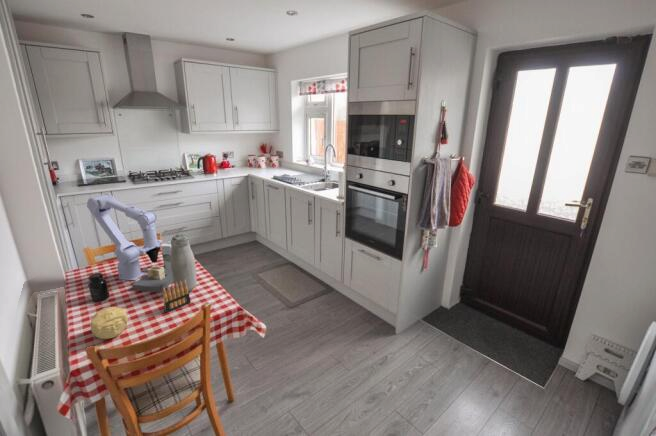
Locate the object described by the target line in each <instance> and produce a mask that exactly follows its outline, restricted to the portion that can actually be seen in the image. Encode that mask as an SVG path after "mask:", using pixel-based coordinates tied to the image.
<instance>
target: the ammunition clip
mask: <svg viewBox="0 0 656 436" xmlns="http://www.w3.org/2000/svg"><path fill="white" fill-rule="evenodd" d="M183 283H184V289H183V285H182V282H181V281H180V283H179V286H180V291H179V288H178V284H177V282H176V284H174V283H171V284H170V285H171V286H169V285H168V286H167V287H166V288H164V287H163V291H162V298H163V308H164V309H163V310H164V313H165V314H168V313H170V312H173V311H175V310H177V309H180V308H182V307H184V306H187V305H189V304H191V297H190V293H189V291H188V288H187V284H186V281H185V279H184V282H183Z"/></svg>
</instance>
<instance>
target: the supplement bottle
mask: <svg viewBox="0 0 656 436" xmlns="http://www.w3.org/2000/svg"><path fill="white" fill-rule="evenodd" d="M88 278H89V282H88V283H87V285H88V289H89V293H90V294H89V295H90V299H91V301H92V302H93V303H102V302H104V301H106V300H108V299H109V298H110V297H111V296H110V290H109V286H108V281H107V279H106V278H105V277H104V276H103V273H102V272H95V273H92V274H89V276H88Z"/></svg>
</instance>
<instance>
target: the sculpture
mask: <svg viewBox="0 0 656 436" xmlns="http://www.w3.org/2000/svg"><path fill="white" fill-rule="evenodd" d="M128 320H129V319H128V315H127V310H126V308H123V307H116V306H109V307H105V308H102V309H100V310H98V311H97V312H96V313H95V314H94V315H93V316H92V318H91V320H90V326H89V327H90V331H91V333H92V334H93V335H94V336H95V337H96V338H97V339H101V340H110V339H113V338H116V337H118V336H119V335H121V334H122V333H123V332H124V331H125V329H126V327H127V324H128V323H129V321H128Z"/></svg>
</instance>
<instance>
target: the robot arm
mask: <svg viewBox="0 0 656 436" xmlns="http://www.w3.org/2000/svg"><path fill="white" fill-rule="evenodd" d="M86 207H87V209H88V210H89V211H90V213H91V214H92V215H93V217H94V218H95V220H96V221H97V223H98V224H99V225H100V227H101V228H102V230H103V231H104V232H105V234H106V235H107V236H108V237H109V239H110V241H111V242H112V243H113V244H114V246H115V249H114V254H115V256H116V259H117V261H118V263H117V268H116V269H117V272H118V277H119V278H118V279H117V280H123V281H138V280H139V279H140V278H142V277H143V276H145V275H146V272H143V271H141V270H142V269H141V265H140V260H139V259H140V256H141V255H145V254H146V255H147V256H148V258H149V260H150V262H151V263H155V264H156V263H157V262H158V258H159V253H160V251H161V245H162V244H164V241H163V238H162V239H158V236H157V230H156V229H157V228H156V224H155V222H156V221H157V215H156V213H155V212H153V211H152V210H144V209H141V208H139V207H137V206H136V205H127V204H125V203H123V202H121V201H119V200H117V199H116V198H115V196H114V195H111V194H110V193H104V194H102V195H98V196H95V197H90V198H88V199H87V201H86ZM112 209H114V210H116V211H119V212H122V213H124V214H125V217H127V218H129V219H132V220H134V221H135V222H136V221H137V224H138V225H139V226H140V229H141V233H142V236H143V237H142V238H143V243H144V246H142V248H140V247H139V246H137V245H136V244H135V242H133V241H128V240H127V239H126V237H125V236H124V235H123V233H122V231H121V230H120V229H119V227H118V226H117V225H116V223H115V222H114V220H113V219H112V218H111V216H110V215H109V213H110V212H111V210H112Z"/></svg>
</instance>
